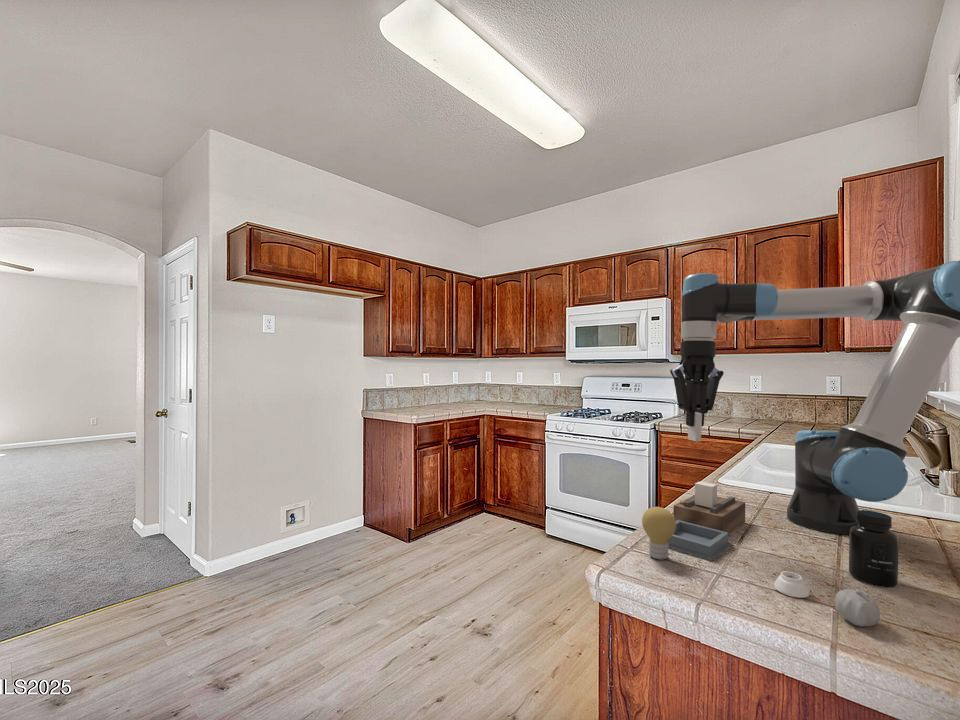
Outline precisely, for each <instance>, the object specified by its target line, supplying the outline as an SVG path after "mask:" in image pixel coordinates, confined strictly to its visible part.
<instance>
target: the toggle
mask: <svg viewBox="0 0 960 720" xmlns="http://www.w3.org/2000/svg"><path fill="white" fill-rule="evenodd" d="M694 495H695V504H696V505H701V506H705V507H710V508H711V507H713V506H715V505H717V497H718V484H715V483H711V482H707V481H706V482H705V481H697V482H695V483H694Z"/></svg>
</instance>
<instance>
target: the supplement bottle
mask: <svg viewBox="0 0 960 720" xmlns="http://www.w3.org/2000/svg"><path fill="white" fill-rule="evenodd" d="M892 519H893V518H892V516H891V515H888V514H886V513H882V512H880V511H873V510H867V509H859V510H858V511H857V518H856V521H857V522H858V524H855V525H853V526H852V527H851V528H850V534H849V537H848V538H849V540H848V541H849V542H848V546H849V547H848V572H849V574H850V576H852V577H853V578H854V579H855V580H858V581H860V582H862V583H863V584H864V583H865V584H868V585H871V586H875V587H882V588H894V587H897V585H898V583H899V557H900V556H899V549H900V546H899V545H900V544H899V543H900V541H899V538H898V535H897V533H895V532H894V531H893V530H892V528H893V524H892V522H893V521H892Z"/></svg>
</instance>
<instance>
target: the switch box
mask: <svg viewBox="0 0 960 720" xmlns="http://www.w3.org/2000/svg"><path fill="white" fill-rule="evenodd" d="M673 516H674V518H675V521H676V520H680V521H684V522H688V523H692V524H696V525H700V526H704V527H708V528H712V529H716V530H719V531H723V532H727V533H729V535H731V534H732V533H733V532H734V531H735V530H737V529H738V528H739V527H741V526H742V525H744V524H745V523H746V502H745V501H740V500H736V497H735V496H732V495H731V496H729V497H722V496H717V505H715V506H713V507H711V508H710V507H705V506H701V505H696V504H695V494H693V495H692V496H690V497H688V498H685V499H684V500H683V499H682V500H679V502H678V503H675V504H673Z"/></svg>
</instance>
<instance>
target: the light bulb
mask: <svg viewBox="0 0 960 720" xmlns="http://www.w3.org/2000/svg"><path fill="white" fill-rule="evenodd" d="M641 524H642V528H643V530H644V532H645V534H646V535H647V536H648V538H649V539H648V554H649V556H650V557H652V558H654V559H655V560H661V561H662V560H666V559H667V558H668V557H669V556H670V554H669V550H670V548H668V547H669V543H668V542H667V541H668V540H669V539H670V538H671V536H672V535H673V534H674V532H675V529H676V521H675V518H674V514H672V512H671V511H669V510H668V509H667V508H664V507H660V506H653V507H650V508H647V509H645V511H644V512H643V515H642V518H641Z"/></svg>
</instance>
